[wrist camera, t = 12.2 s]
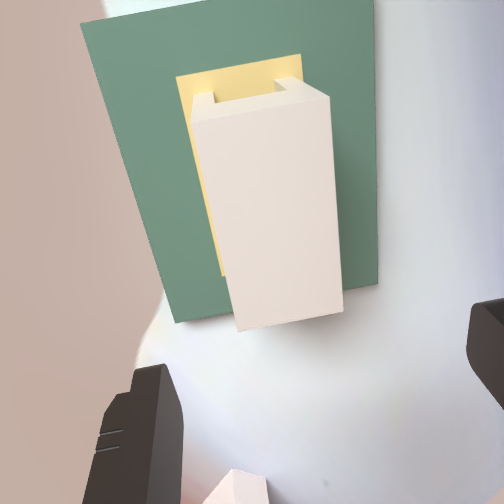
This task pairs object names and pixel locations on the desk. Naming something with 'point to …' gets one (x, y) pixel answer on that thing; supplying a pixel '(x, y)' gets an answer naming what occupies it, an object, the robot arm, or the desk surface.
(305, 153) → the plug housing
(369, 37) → the header board
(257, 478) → the white wedge bracket
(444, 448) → the desk surface
